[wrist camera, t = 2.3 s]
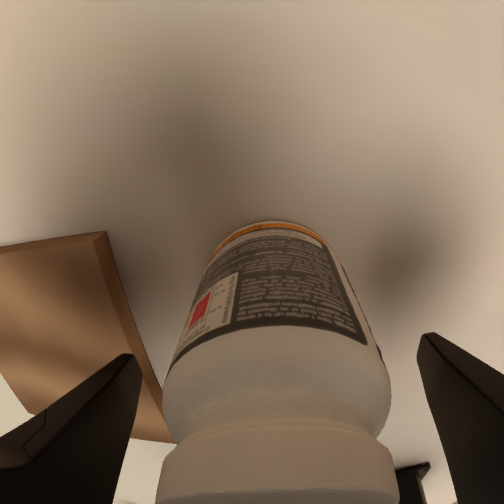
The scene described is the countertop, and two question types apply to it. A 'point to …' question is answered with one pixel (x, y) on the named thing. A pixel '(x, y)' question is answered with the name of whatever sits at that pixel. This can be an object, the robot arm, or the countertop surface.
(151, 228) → the countertop surface
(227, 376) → the pill bottle
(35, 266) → the plinth
